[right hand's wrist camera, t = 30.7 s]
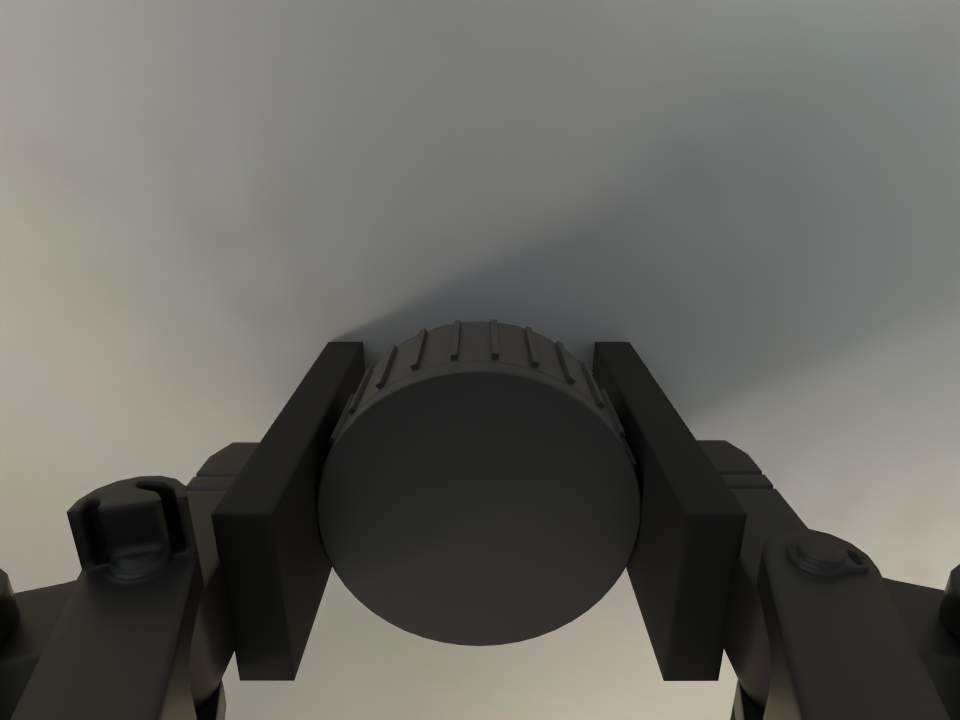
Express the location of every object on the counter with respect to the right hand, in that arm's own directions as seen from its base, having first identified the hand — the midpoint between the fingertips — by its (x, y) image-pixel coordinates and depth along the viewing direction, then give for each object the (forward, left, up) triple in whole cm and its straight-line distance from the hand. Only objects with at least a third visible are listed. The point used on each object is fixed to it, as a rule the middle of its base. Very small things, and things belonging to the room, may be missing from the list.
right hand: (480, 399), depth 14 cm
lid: (0, 0, +4) cm, 4 cm away
